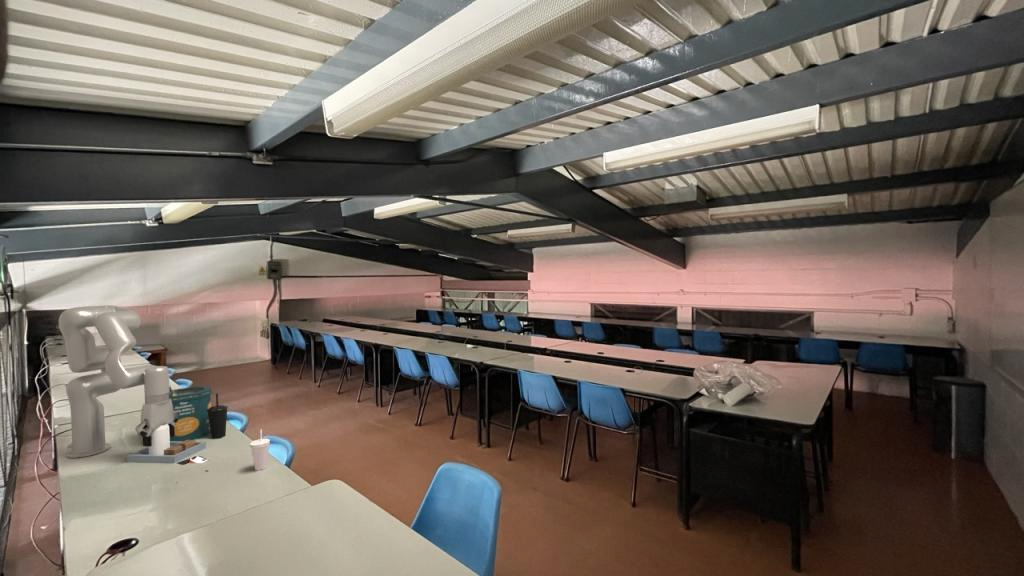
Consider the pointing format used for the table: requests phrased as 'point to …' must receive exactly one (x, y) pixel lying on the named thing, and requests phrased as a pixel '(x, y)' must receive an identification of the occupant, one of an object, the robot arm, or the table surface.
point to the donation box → (191, 412)
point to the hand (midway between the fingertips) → (159, 441)
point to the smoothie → (260, 452)
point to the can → (159, 440)
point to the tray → (145, 457)
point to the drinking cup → (217, 420)
